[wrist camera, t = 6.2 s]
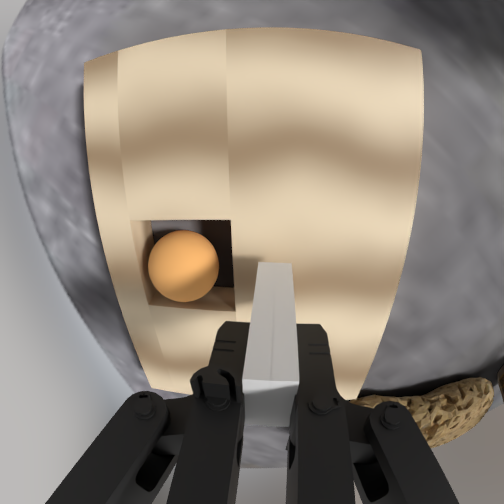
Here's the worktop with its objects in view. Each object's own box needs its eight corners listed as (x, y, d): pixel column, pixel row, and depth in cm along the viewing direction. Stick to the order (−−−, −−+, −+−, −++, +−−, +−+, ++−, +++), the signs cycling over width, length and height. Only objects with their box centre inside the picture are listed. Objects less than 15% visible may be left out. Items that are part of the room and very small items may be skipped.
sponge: (314, 422, 27) (438, 441, 24) (308, 473, 20) (449, 481, 17) (367, 334, 24) (495, 369, 21) (379, 386, 16) (521, 406, 13)
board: (108, 67, 12) (84, 62, 10) (401, 58, 11) (421, 50, 8) (160, 367, 23) (151, 387, 20) (351, 376, 21) (356, 399, 19)
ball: (150, 252, 12) (229, 235, 14) (138, 229, 15) (201, 217, 17) (164, 324, 13) (233, 303, 15) (149, 289, 17) (206, 274, 18)
